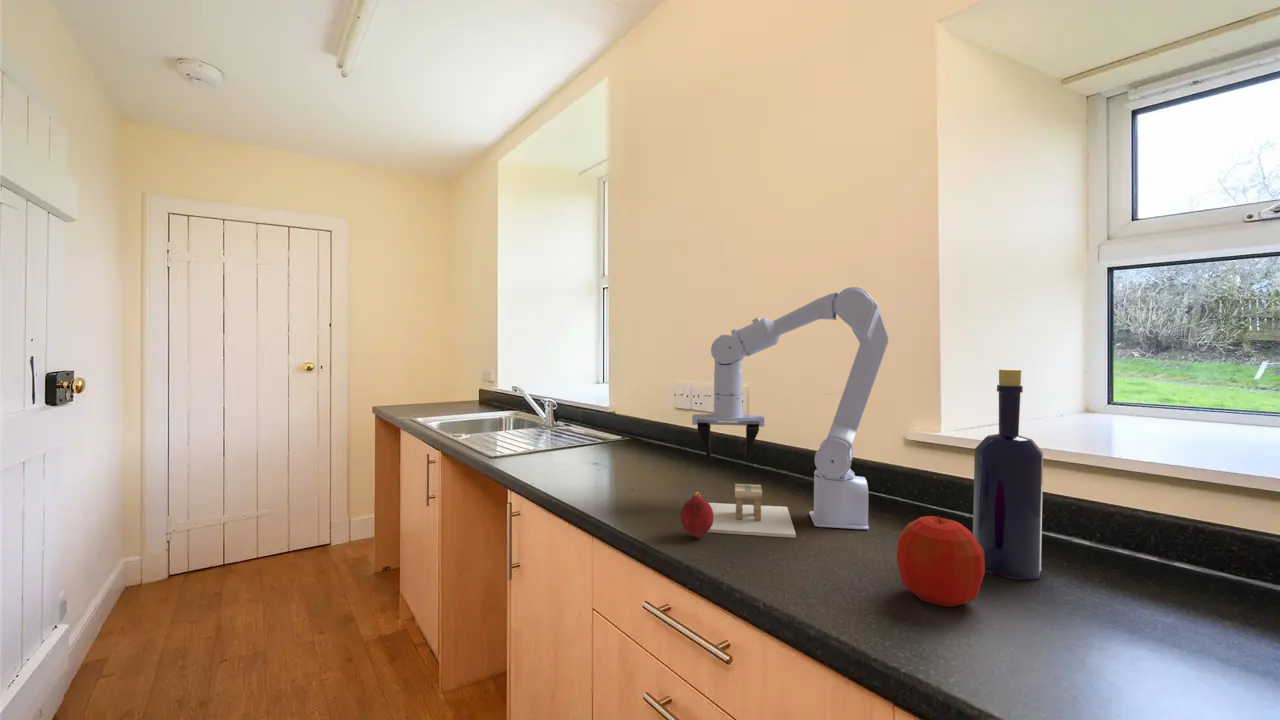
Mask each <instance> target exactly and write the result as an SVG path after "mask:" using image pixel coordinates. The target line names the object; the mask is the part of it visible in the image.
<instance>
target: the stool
mask: <svg viewBox="0 0 1280 720" xmlns="http://www.w3.org/2000/svg"><path fill="white" fill-rule="evenodd" d="M734 498H735V504H736V520H742V506H743V505H744V503H743V502H744V501H743V500H744V499H745V500H753V505H754V521H761V506H762V500H763V487H762V485H761V484H750V483H734Z"/></svg>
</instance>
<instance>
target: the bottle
mask: <svg viewBox="0 0 1280 720" xmlns="http://www.w3.org/2000/svg"><path fill="white" fill-rule="evenodd" d="M1021 383H1022V369H1010V368H1005V369H1003V368H1001V369H998V384H997V385H996V392H997V393H998V433H994V434H988V435H987V436H985V437H984V438H983V440H982V441H981V442H980V443H979V444H978V445H977V446H976V447H975V448H974V463H973V464H974V465H973V467H974V468H973V469H974V470H973V509H972V511H973V512H972V515H973V516H972V534H973V535H974V537H975V538H976V540H977V541H978V543H979V544H980V546H981V547H982V549H983V550H984V561H985V573H987V574H989V575H994V576H998V577H1001V578H1005V579H1006V578H1007V579H1011V580H1015V581H1023V580H1024V581H1025V580H1026V581H1029V580H1031V581H1033V580H1040V579H1041V576H1042V574H1043V571H1042V542H1043V541H1042V538H1043V536H1042V534H1043V533H1042V531H1043V530H1042V529H1043V491H1044V490H1043V487H1044V486H1043V484H1044V482H1043V481H1044V478H1043V477H1044V452H1043V450H1041V448H1040V447H1039V446H1038V445H1037V443H1036V442H1035V441H1034V440H1033V439H1031V438H1028V437H1025V436H1022V435H1020V434H1019V433H1020V416H1021V415H1020V412H1021V394H1022V393H1023V392H1024V391H1023V389H1024V387H1023V385H1022V384H1021Z"/></svg>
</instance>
